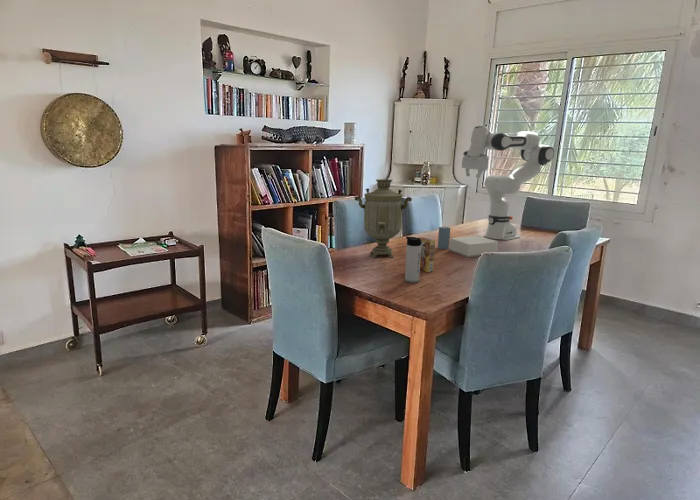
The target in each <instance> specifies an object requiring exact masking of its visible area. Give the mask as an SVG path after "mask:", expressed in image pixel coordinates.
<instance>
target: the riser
mask: <svg viewBox="0 0 700 500" xmlns="http://www.w3.org/2000/svg"><path fill="white" fill-rule="evenodd" d="M498 247H499V241H497V240H496V239H492V238H488V237H485V236H481V235H472V236H470V235H469V236H461V237H450V239H449V249H448V251H450V252H452V253H455V254H458V255H460V256H463V257H464V258H465V257H466V258H468V259H469V258H474V257H475V258H477V257H481V256H480V255H481V254H482V253H484V252H497V253H498Z"/></svg>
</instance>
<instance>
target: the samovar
mask: <svg viewBox="0 0 700 500" xmlns="http://www.w3.org/2000/svg"><path fill="white" fill-rule="evenodd" d="M375 181H376V183H377V184H376V186H377V188H376V189H374V191H371V192H370V188H366V189H365V191H366V193H364V194H363V195H364V198H365V199H364V200H365V201H364V204H363V200H362V198H361V196H354V200H355V202H356V201H357V202H358V206H359V207H360V208H361V209H363V213H364V216H363V217H364V219H363V221H364V222H363V224H364V225H363V227H364V231H365V232H366V234H367V235H368V236H370V237H371V238H373V239H375V244H377V245H376V246H375V247H373V248H372V249H371V253H372V254H373V255H371V258H372V257H373V259H375V258H376V257H377V256H378V255H385V256H386V255H388V256H389V257H390V258H391V259H394V255H393V254H392V253H393V251H392V250H393V249H392V248H390V247H391V246H388V244H389V243H390V239H393V238H395V237H396V236H397V235H398V234H399V233H400V231H401V229H402V212H403V210H405V209H406V208H407V207H408V205H409V204H408V202H412V200H413V199H412V197H409V196H408V197H406V198H405V199H404V203H403V204H402V201H401V200H402V199H403V193H402V192H403V190H402V189H397V191H398V192H396V191H394V190H392V189H390V187H391V184H392V182H394V181H393V179H385V178H383V179H380V178H379V179H375Z"/></svg>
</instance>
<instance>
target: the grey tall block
mask: <svg viewBox="0 0 700 500" xmlns="http://www.w3.org/2000/svg"><path fill="white" fill-rule="evenodd" d="M437 238H438V239H437V248H438V249H441V250H447V249H448V250H449V249H450V238H451V227H449V226H439V227H438V237H437Z"/></svg>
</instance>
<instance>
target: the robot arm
mask: <svg viewBox="0 0 700 500" xmlns="http://www.w3.org/2000/svg"><path fill="white" fill-rule="evenodd" d="M509 148H512V149H514V150H520V158H521V159H522V160H524V161H525V163H523V164H520V165H518V166H517V167H514V168H512V169H511V170H510V171H509V174H508V175H498V174H492V175H488V176H487V177H485V180H484V182H483V186H484V189H485V190H486V191H487V193H488V196H489V201H490V202H489V203H490V205H489V206H490V207H489V214H488V224H487V227H486V228H487V229H486V232H485V234H484V235H485V236H484V237H485V238H488V239H491V240H504V241H509V240H514V239H520V238H521V235H520V234H518V230H517V227H516V226H515V225H514V224H513V223H512V222H511V221H510V220H513V219H514V218H513V216H512V215H511V216H509V208H510V207H509V206H510V203H509V202H508V200H507V198H506V196H510V195H511V196H512V195H515V194H518V193H519V191H520V188H521V186H522V185H523V184H525V183H527V182H529V181H530V180H532V179H534V178H535V177H536V176H538V175H539V174H540V173H541V169H542V166H546V165H547V164H548V163H549V162H551V161H552V160H553V158H554V156H555V149H554V148H553V147H552V146H550V145H548V144H540V136H539V134H538V133H536V132H533V131H526V130H525V131H523V130H522V131H517V132H514V133H513V134H512V135H509V134H507V133H506V132H499V133H498V132H495V133H494V132H492V131H491V130H490V129H489V128H488V126H486V125H477V126H474V128H473V130H472V132H471V138H470V146H469V149H468V150H466V151H464V152H463V156H462V160H461V167H462V169H465V170H464V171H465V176H466V177H470V176H471V173H470V170H478V171H477V172H478V173H477V174H475V175H476V176H475V178H478V179H479V178H481V175H482V173H483V171H488V168H489V156H488V154H485V151H486V150H489V151H491V150H492V151H493V150H494V151H502V152H503V151H505V150H507V149H509ZM505 195H506V196H505Z"/></svg>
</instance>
